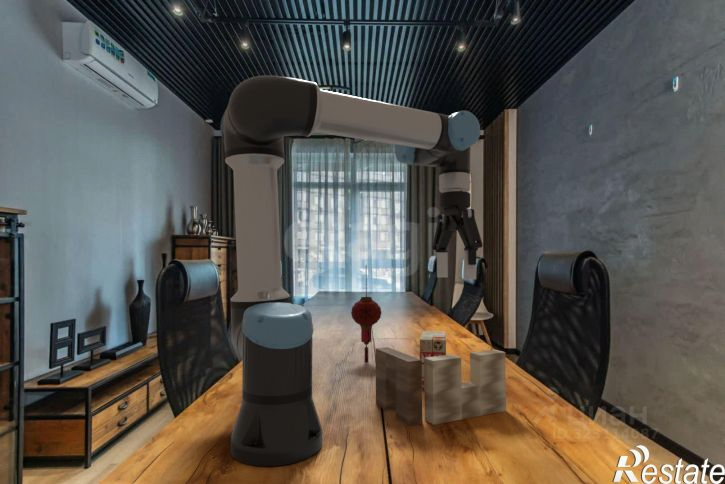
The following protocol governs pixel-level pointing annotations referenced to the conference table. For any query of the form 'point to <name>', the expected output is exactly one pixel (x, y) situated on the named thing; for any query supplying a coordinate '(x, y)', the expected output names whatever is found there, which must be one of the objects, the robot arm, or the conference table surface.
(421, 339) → the red and beige box
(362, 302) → the lantern
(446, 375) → the grey notched block
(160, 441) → the conference table surface
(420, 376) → the tall brown wooden block
